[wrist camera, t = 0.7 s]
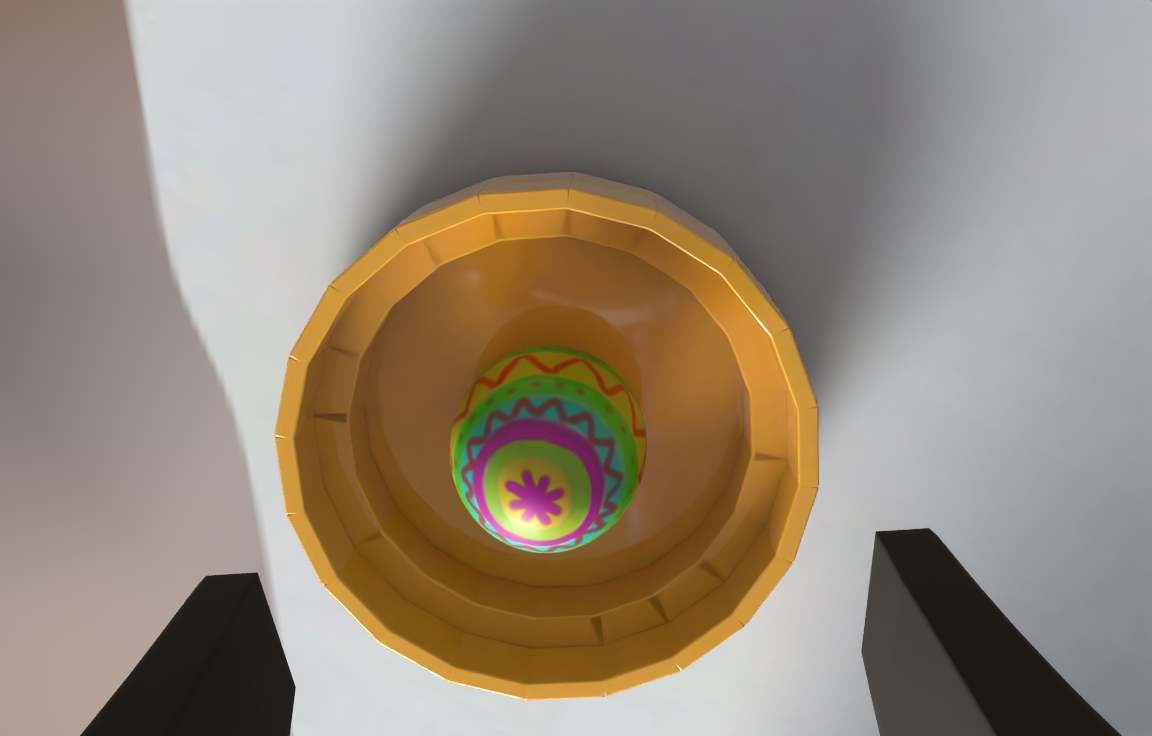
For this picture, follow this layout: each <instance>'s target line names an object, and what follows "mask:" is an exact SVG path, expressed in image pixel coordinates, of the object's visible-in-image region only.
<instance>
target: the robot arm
mask: <svg viewBox="0 0 1152 736" xmlns="http://www.w3.org/2000/svg"><path fill="white" fill-rule="evenodd" d="M861 652H862V656H863V661H864V665H865V670H866V675H867V679H868V684H869V689H870V693H871V698H872V702H873V706H874V711H875V715H876V719H877V723H878V728H879V732H880V736H1122V735H1120V734H1119V733H1118V732H1117V731H1116V730H1115V729H1114V728H1113V727H1112V726H1111V725H1110V724H1109V723H1108V722H1107V721H1106V720H1105V719H1104V718H1103V717H1102V716H1101V715H1100V714H1099V713H1098V712H1096V711H1095V710H1094V709H1093V708H1092V707H1091V706H1090V705H1089V704H1088V703H1087V702H1086V701H1085V700H1084V699H1083V698H1082V697H1081V696H1080V695H1079V694H1078V693H1077V692H1076V691H1075V690H1074V689H1073V688H1072V687H1071V686H1070V685H1069V684H1068V683H1067V682H1066V681H1065V680H1064V678H1063V677H1062V676H1061V675H1060V674H1059V673H1058V672H1057V671H1056V670H1055V669H1054V668H1053V667H1052V666H1051V665H1050V664H1049V663H1048V662H1047V660H1046V659H1045V658H1044V657H1043V656H1042V655H1041V654H1040V653H1039V652H1038V651H1037V650H1036V649H1035V648H1034V647H1033V646H1032V645H1031V644H1030V642H1029V641H1028V640H1027V639H1026V638H1025V637H1024V636H1023V635H1022V634H1021V633H1020V632H1019V631H1018V629H1017V628H1016V627H1015V626H1014V625H1013V624H1012V623H1011V622H1010V621H1009V619H1008V618H1007V617H1006V616H1005V615H1004V614H1003V613H1002V611H1001V610H1000V609H999V608H998V607H997V606H996V605H995V603H994V602H993V601H992V600H991V599H990V598H989V597H988V595H987V594H986V593H985V592H984V591H983V590H982V589H981V587H980V586H979V585H978V584H977V583H976V581H975V580H974V579H973V578H972V577H971V576H970V574H969V573H968V572H967V571H966V570H965V568H964V567H963V566H962V565H961V564H960V562H959V561H958V560H957V559H956V558H955V556H954V555H953V554H952V553H951V552H950V550H949V549H948V548H947V547H946V545H945V544H944V543H943V542H942V541H941V539H940V538H939V537H938V536H937V535H936V534H935V533H934V532H933V531H932V530H930V529H929V528H925V529H909V530H894V531H879V532H876V534H875V543H874V551H873V559H872V568H871V576H870V584H869V593H868V601H867V609H866V618H865V626H864V634H863V643H862V651H861ZM295 688H296V687H295V684H294V681H293V678H292V675H291V672H290V669H289V666H288V663H287V660H286V657H285V654H284V651H283V648H282V645H281V642H280V639H279V636H278V633H277V630H276V627H275V624H274V621H273V618H272V615H271V612H270V609H269V606H268V603H267V600H266V597H265V594H264V591H263V588H262V585H261V582H260V579H259V576H258V573H243V574H227V575H214V576H213V575H212V576H206V577H205V578H204V579H203V580H202V581H201V582H200V583H199V584H198V586H197V587H196V588H195V590H194V591H193V592H192V593H191V595H190V596H189V597H188V599H187V600H186V601H185V603H184V604H183V605H182V607H181V608H180V609H179V610H178V612H177V613H176V615H175V616H174V617H173V618H172V620H171V621H170V622H169V624H168V625H167V626H166V628H165V629H164V630H163V632H162V633H161V634H160V636H159V637H158V638H157V640H156V641H155V642H154V643H153V645H152V646H151V647H150V649H149V650H148V651H147V653H146V654H145V655H144V656H143V658H142V659H141V660H140V662H139V663H138V664H137V665H136V667H135V668H134V670H133V671H132V672H131V673H130V675H129V676H128V677H127V678H126V680H125V681H124V682H123V683H122V685H121V686H120V687H119V688H118V690H117V691H116V692H115V693H114V695H113V696H112V697H111V698H110V699H109V701H108V702H107V703H106V705H105V706H104V707H103V708H102V709H101V711H100V712H99V713H98V714H97V716H96V717H95V718H94V719H93V721H92V722H91V723H90V724H89V725H88V727H87V728H86V729H85V730H84V732H83V733H82V734H81V735H80V736H290V728H291V720H292V712H293V704H294V696H295Z"/></svg>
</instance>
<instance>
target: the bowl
mask: <svg viewBox="0 0 1152 736" xmlns="http://www.w3.org/2000/svg"><path fill="white" fill-rule="evenodd" d="M543 345H556V346H565V347H570V348H574V349H577V350H580V351H583V352H586V353H588V354H590V355H593V356H594V357H596V358H598V359H600V360H601V361H603V362H604V363H606V364H607V365H608V366H609V367H611V368H612V369H613V370H614V371H615V372H616V373H617V374H618V375H619V376H620V377H621V378H622V379H623V380H624V382H625V383H626V384H627V385H628V387H629V388H630V390H631V391H632V393H633V395H634V397H635V399H636V401H637V403H638V405H639V407H640V410H641V413H642V416H643V420H644V424H645V429H646V437H647V456H646V464H645V469H644V473H643V477H642V480H641V483H640V486H639V488H638V491H637V493H636V495H635V497H634V499H633V501H632V502H631V504H630V506H629V507H628V509H627V510H626V511H625V513H624V514H623V515H622V517H621V518H620V519H619V520H618V521H617V522H616V523H615V524H614V525H613V526H612V527H611V528H610V529H609V530H607V531H606V532H605V533H603V534H602V535H601V536H599V537H598V538H596V539H594V540H593V541H591V542H589V543H587V544H585V545H583V546H580V547H577V548H574V549H571V550H567V551H562V552H555V553H537V552H530V551H525V550H521V549H518V548H515V547H512V546H510V545H508V544H505V543H503V542H502V541H500V540H498V539H496V538H495V537H493V536H492V535H491V534H489V533H488V532H487V531H486V530H485V529H483V528H482V527H481V526H480V525H479V524H478V523H477V521H476V520H475V519H474V518H473V517H472V515H471V514H470V513H469V511H468V510H467V508H466V507H465V505H464V503H463V502H462V500H461V498H460V496H459V493H458V491H457V488H456V486H455V483H454V479H453V475H452V471H451V464H450V436H451V430H452V425H453V421H454V417H455V414H456V412H457V409H458V407H459V404H460V402H461V400H462V398H463V397H464V395H465V393H466V392H467V390H468V389H469V387H470V386H471V385H472V383H473V382H474V381H475V380H476V379H477V377H478V376H479V375H480V374H481V373H482V372H483V371H485V370H486V369H487V368H488V367H489V366H491V365H492V364H493V363H495V362H496V361H498V360H499V359H501V358H503V357H504V356H506V355H508V354H511V353H513V352H516V351H518V350H522V349H525V348H529V347H535V346H543ZM817 404H818V403H817V400H816V397H815V395H814V392H813V389H812V386H811V383H810V381H809V378H808V375H807V372H806V370H805V367H804V364H803V361H802V359H801V356H800V353H799V350H798V347H797V345H796V342H795V339H794V336H793V334H792V331H791V328H790V327H789V325H788V323H787V322H786V320H785V318H784V317H783V315H782V314H781V312H780V311H779V309H778V308H777V307H776V305H775V303H774V302H773V300H772V299H771V297H770V296H769V294H768V293H767V291H766V290H765V289H764V288H763V287H762V285H761V284H760V283H759V282H758V280H757V279H756V278H755V277H754V275H753V274H752V273H751V272H750V270H749V269H748V268H747V267H746V265H745V264H744V263H743V262H742V260H741V259H740V258H739V257H738V256H737V254H736V253H735V252H734V251H733V249H732V248H731V247H730V246H729V244H728V243H727V242H726V241H725V239H724V238H723V237H721V236H720V234H719V233H718V232H716V231H715V230H713V229H711V228H710V227H708V226H707V225H705V224H704V223H702V222H700V221H699V220H697V219H696V218H694V217H693V216H691V215H689V214H688V213H686V212H685V211H683V210H682V209H680V208H679V207H677V206H675V205H674V204H672V203H671V202H669V201H668V200H666V199H664V198H663V197H661V196H660V195H658V194H657V193H655V192H652V191H650V190H646V189H642V188H638V187H634V186H630V185H627V184H623V183H619V182H615V181H611V180H607V179H603V178H599V177H595V176H591V175H587V174H583V173H580V172H575V173H574V172H557V173H542V174H527V175H513V176H498V177H495V178H490V179H487V180H485V181H482V182H480V183H477V184H475V185H473V186H470V187H468V188H465V189H463V190H460V191H458V192H455V193H453V194H451V195H448V196H446V197H443V198H441V199H438V200H436V201H433V202H431V203H429V204H426V205H424V206H422V207H421V208H418V209H417V210H416V211H415V212H413V213H412V214H411V215H410V216H408V217H407V218H406V219H405V220H403V221H402V222H401V223H399V224H398V225H397V226H396V227H394V228H393V229H392V230H391V231H390V232H388V233H387V234H386V235H385V236H384V237H383V238H382V239H380V240H379V241H378V242H377V243H376V244H375V245H374V246H372V247H371V248H370V249H369V250H368V251H367V252H365V253H364V254H363V255H362V256H361V257H360V258H359V259H357V260H356V261H355V262H354V263H353V264H352V265H351V266H349V267H348V268H347V269H346V270H345V271H344V272H343V273H341V274H340V275H339V276H338V277H337V278H336V279H334V280H333V281H332V283H331V284H330V285H329V286H328V288H327V289H326V291H325V293H324V295H323V297H322V298H321V300H320V302H319V304H318V305H317V307H316V309H315V311H314V312H313V314H312V316H311V318H310V319H309V321H308V323H307V325H306V326H305V328H304V330H303V332H302V333H301V335H300V337H299V339H298V340H297V342H296V344H295V346H294V347H293V349H292V351H291V353H290V357H289V358H288V362H287V368H286V374H285V379H284V385H283V390H282V396H281V401H280V407H279V412H278V418H277V423H276V429H275V444H276V450H277V457H278V463H279V470H280V476H281V482H282V489H283V495H284V502H285V508H286V513H287V514H288V515H287V517H288V519H289V521H290V523H291V525H292V527H293V529H294V531H295V533H296V534H297V536H298V538H299V540H300V542H301V544H302V546H303V548H304V550H305V552H306V554H307V556H308V558H309V560H310V562H311V564H312V566H313V568H314V570H315V572H316V574H317V576H318V578H319V580H320V581H321V583H322V585H324V588H325V589H326V590H327V591H328V592H329V593H330V594H331V595H332V596H333V597H334V598H335V599H336V600H337V601H338V602H339V603H340V604H341V605H342V606H343V607H344V608H345V609H346V610H347V611H348V612H349V613H350V614H351V615H352V616H353V617H354V618H355V619H356V620H357V621H358V622H359V623H360V624H361V625H362V626H363V627H364V628H365V629H366V630H367V632H368V633H369V634H370V635H371V636H372V637H373V638H374V639H375V640H376V641H379V643H380V644H381V645H383V646H385V647H387V648H389V649H390V650H392V651H394V652H396V653H398V654H399V655H401V656H403V657H405V658H406V659H408V660H410V661H412V662H414V663H415V664H417V665H419V666H421V667H423V668H424V669H426V670H428V671H430V672H432V673H433V674H435V675H437V676H439V677H440V678H442V679H444V680H446V681H448V680H449V682H452V683H456V684H460V685H465V686H469V687H473V688H477V689H482V690H486V691H490V692H494V693H499V694H503V695H507V696H511V697H515V698H520V699H527V700H541V699H564V698H587V697H604V696H605V695H606V696H609V695H612V694H615V693H618V692H621V691H624V690H627V689H630V688H633V687H636V686H639V685H642V684H644V683H647V682H650V681H653V680H656V679H659V678H662V677H665V676H668V675H671V674H674V673H677V672H679V671H680V670H683V669H685V668H686V667H688V666H689V665H691V664H692V663H693V662H695V661H696V660H698V659H699V658H700V657H702V656H703V655H705V654H706V653H708V652H709V651H710V650H712V649H713V648H715V647H716V646H717V645H719V644H720V643H722V642H723V641H725V640H726V639H727V638H729V637H730V636H732V635H733V634H734V633H736V632H737V631H739V630H740V629H742V628H743V627H744V626H745V625H746V624H747V623H748V622H749V620H750V619H751V618H752V616H753V615H754V614H755V613H756V611H757V610H758V609H759V607H760V606H761V605H762V603H763V602H764V601H765V599H766V598H767V597H768V595H769V594H770V593H771V591H772V590H773V589H774V587H775V586H776V585H777V583H778V582H779V581H780V580H781V578H782V577H783V576H784V574H785V573H786V572H787V570H788V569H789V568H790V566H791V565H792V563H793V561H794V560H795V557H796V554H797V551H798V548H799V545H800V542H801V539H802V536H803V533H804V530H805V527H806V524H807V521H808V518H809V515H810V512H811V509H812V506H813V503H814V500H815V497H816V494H817V491H818V486H819V422H818V406H817Z"/></svg>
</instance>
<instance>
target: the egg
mask: <svg viewBox="0 0 1152 736" xmlns="http://www.w3.org/2000/svg"><path fill="white" fill-rule="evenodd" d="M646 456H647V437H646V429H645V424H644V420H643V416H642V413H641V410H640V407H639V405H638V403H637V401H636V399H635V397H634V395H633V393H632V391H631V390H630V388H629V387H628V385H627V384H626V383H625V382H624V380H623V379H622V378H621V377H620V376H619V375H618V374H617V373H616V372H615V371H614V370H613V369H612V368H611V367H609V366H608V365H607V364H606V363H604V362H603V361H601V360H600V359H598V358H596V357H594V356H593V355H590V354H588V353H586V352H583V351H580V350H577V349H574V348H570V347H565V346H556V345H543V346H535V347H529V348H525V349H522V350H518V351H516V352H513V353H511V354H508V355H506V356H504V357H503V358H501V359H499V360H498V361H496V362H495V363H493V364H492V365H491V366H489V367H488V368H487V369H486V370H485V371H483V372H482V373H481V374H480V375H479V376H478V377H477V379H476V380H475V381H474V382H473V383H472V385H471V386H470V387H469V389H468V390H467V392H466V393H465V395H464V397H463V398H462V400H461V402H460V404H459V407H458V409H457V412H456V414H455V417H454V421H453V425H452V430H451V436H450V464H451V471H452V475H453V479H454V483H455V486H456V488H457V491H458V493H459V496H460V498H461V500H462V502H463V503H464V505H465V507H466V508H467V510H468V511H469V513H470V514H471V515H472V517H473V518H474V519H475V520H476V521H477V523H478V524H479V525H480V526H481V527H482V528H483V529H485V530H486V531H487V532H488V533H489V534H491V535H492V536H493V537H495V538H496V539H498V540H500V541H502V542H503V543H505V544H508V545H510V546H512V547H515V548H518V549H521V550H525V551H530V552H537V553H555V552H562V551H567V550H571V549H574V548H577V547H580V546H583V545H585V544H587V543H589V542H591V541H593V540H594V539H596V538H598V537H599V536H601V535H602V534H603V533H605V532H606V531H607V530H609V529H610V528H611V527H612V526H613V525H614V524H615V523H616V522H617V521H618V520H619V519H620V518H621V517H622V515H623V514H624V513H625V511H626V510H627V509H628V507H629V506H630V504H631V502H632V501H633V499H634V497H635V495H636V493H637V491H638V488H639V486H640V483H641V480H642V477H643V473H644V469H645V464H646Z"/></svg>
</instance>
